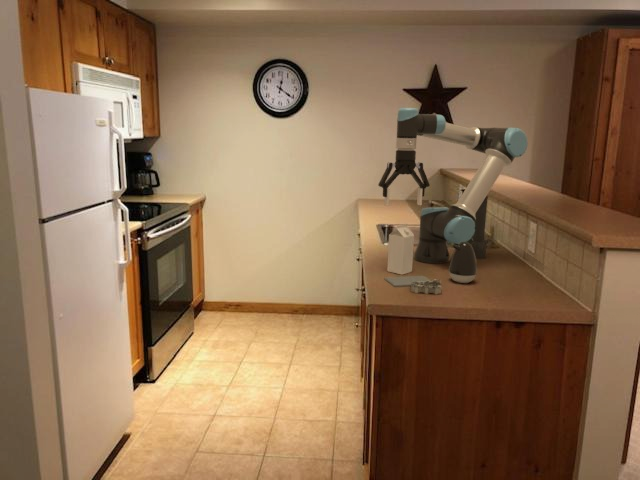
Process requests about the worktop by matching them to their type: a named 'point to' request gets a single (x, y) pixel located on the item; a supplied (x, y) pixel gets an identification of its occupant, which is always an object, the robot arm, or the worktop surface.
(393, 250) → the milk carton
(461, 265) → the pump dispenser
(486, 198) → the flashlight
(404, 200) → the worktop surface
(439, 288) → the egg carton
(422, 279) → the mat
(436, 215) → the robot arm
